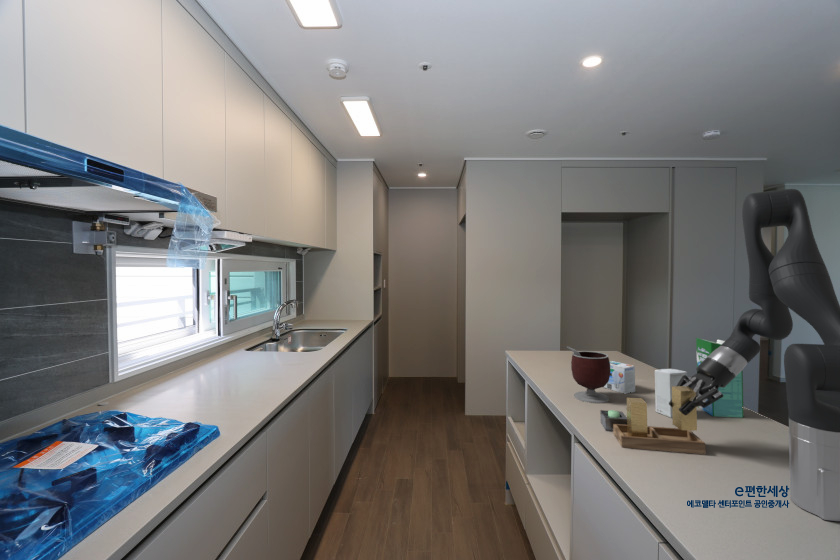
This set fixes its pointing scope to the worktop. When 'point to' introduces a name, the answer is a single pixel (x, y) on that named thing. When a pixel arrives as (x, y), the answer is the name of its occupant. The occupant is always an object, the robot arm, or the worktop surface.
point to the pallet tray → (661, 439)
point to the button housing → (612, 420)
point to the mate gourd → (590, 374)
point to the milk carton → (732, 392)
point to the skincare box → (666, 388)
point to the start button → (613, 413)
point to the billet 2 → (678, 399)
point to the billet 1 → (636, 417)
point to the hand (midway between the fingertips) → (676, 409)
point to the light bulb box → (621, 377)
